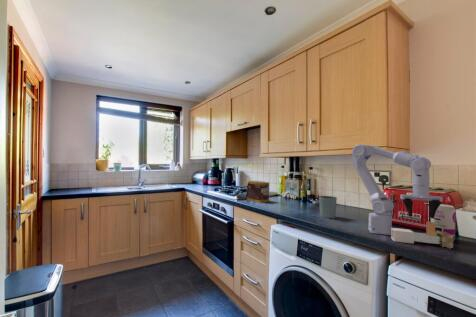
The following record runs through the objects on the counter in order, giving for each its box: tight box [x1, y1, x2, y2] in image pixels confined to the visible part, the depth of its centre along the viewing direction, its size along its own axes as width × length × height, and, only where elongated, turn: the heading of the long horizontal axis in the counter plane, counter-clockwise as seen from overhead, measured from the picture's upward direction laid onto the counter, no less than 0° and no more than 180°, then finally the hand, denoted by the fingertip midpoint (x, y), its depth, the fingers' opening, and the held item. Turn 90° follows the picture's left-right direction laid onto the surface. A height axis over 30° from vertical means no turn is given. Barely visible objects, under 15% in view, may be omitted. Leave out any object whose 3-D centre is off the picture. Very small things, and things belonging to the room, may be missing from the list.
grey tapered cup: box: [318, 195, 338, 219], centre depth 142 cm, size 10×10×12 cm
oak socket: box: [436, 231, 454, 249], centre depth 97 cm, size 3×6×5 cm, turn 161°
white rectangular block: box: [390, 227, 415, 245], centre depth 101 cm, size 7×5×5 cm, turn 71°
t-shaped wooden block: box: [413, 220, 442, 245], centre depth 99 cm, size 15×3×8 cm, turn 71°
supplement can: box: [430, 203, 457, 241], centre depth 105 cm, size 8×8×15 cm
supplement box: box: [246, 180, 270, 203], centre depth 193 cm, size 10×15×16 cm
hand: (420, 217), depth 101 cm, fingers open, 7 cm apart
